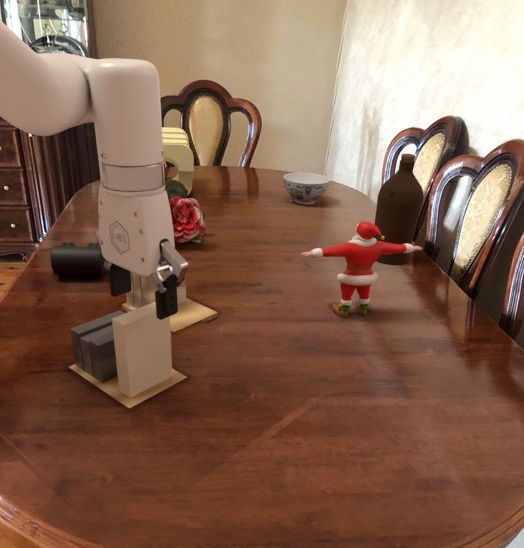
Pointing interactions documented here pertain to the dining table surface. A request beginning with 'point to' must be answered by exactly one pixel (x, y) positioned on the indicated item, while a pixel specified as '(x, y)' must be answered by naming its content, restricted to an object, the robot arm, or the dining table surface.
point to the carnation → (184, 213)
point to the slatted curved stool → (179, 154)
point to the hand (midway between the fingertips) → (143, 304)
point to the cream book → (142, 349)
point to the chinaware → (306, 186)
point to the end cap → (77, 260)
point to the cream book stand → (187, 308)
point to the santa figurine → (359, 264)
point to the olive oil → (399, 209)
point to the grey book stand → (107, 360)
